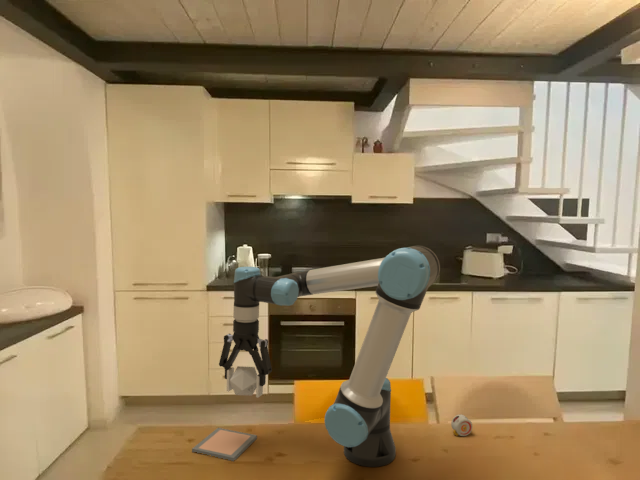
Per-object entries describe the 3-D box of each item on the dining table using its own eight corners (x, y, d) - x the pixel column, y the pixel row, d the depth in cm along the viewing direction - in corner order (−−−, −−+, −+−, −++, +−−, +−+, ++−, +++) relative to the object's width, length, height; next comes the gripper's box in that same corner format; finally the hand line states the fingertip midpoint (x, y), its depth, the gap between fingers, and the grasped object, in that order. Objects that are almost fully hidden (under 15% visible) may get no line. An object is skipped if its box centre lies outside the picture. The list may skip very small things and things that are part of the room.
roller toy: (474, 436, 146) (474, 419, 146) (455, 438, 145) (456, 420, 144) (467, 430, 150) (467, 412, 150) (449, 431, 149) (449, 414, 149)
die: (245, 404, 132) (264, 375, 134) (221, 386, 133) (240, 358, 136) (249, 402, 140) (267, 375, 142) (226, 386, 141) (244, 359, 143)
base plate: (256, 438, 144) (256, 435, 144) (233, 461, 130) (233, 457, 130) (218, 430, 148) (218, 427, 148) (192, 452, 135) (191, 448, 135)
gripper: (285, 320, 136) (283, 394, 138) (221, 312, 144) (220, 382, 145) (273, 326, 129) (271, 404, 131) (207, 317, 137) (206, 390, 138)
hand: (244, 392), depth 138 cm, fingers closed on die, 9 cm apart
